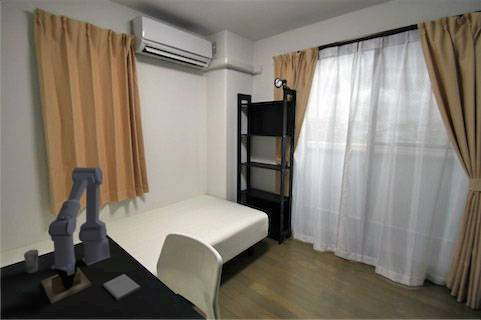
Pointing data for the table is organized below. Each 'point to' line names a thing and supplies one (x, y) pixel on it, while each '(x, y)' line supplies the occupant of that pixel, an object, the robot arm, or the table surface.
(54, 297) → the board
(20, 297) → the table surface
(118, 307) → the table surface
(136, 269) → the table surface
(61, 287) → the block
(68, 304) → the table surface
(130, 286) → the external hard drive
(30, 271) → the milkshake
